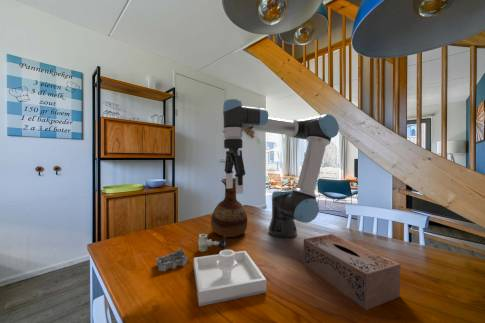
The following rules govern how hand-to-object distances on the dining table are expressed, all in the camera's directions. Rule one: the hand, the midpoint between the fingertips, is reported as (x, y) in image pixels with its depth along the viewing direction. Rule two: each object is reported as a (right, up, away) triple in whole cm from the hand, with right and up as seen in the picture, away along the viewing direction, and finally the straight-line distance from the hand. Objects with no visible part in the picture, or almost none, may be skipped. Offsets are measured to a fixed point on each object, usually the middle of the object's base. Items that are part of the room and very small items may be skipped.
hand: (234, 190), depth 84 cm
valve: (-10, -27, +6) cm, 30 cm away
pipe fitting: (-2, -27, -15) cm, 31 cm away
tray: (-2, -28, -15) cm, 32 cm away
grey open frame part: (-23, -28, -6) cm, 37 cm away
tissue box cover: (+39, -28, -14) cm, 50 cm away
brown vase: (-4, -27, +27) cm, 38 cm away
